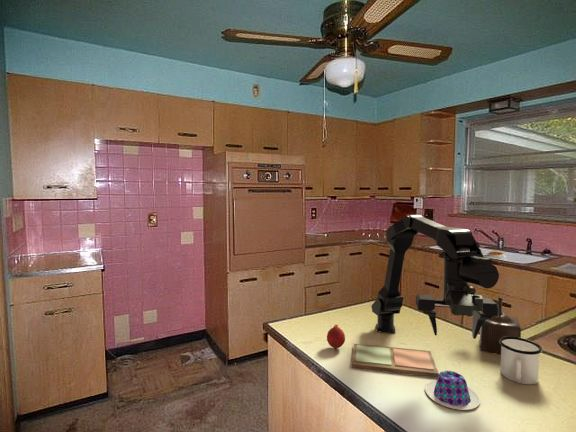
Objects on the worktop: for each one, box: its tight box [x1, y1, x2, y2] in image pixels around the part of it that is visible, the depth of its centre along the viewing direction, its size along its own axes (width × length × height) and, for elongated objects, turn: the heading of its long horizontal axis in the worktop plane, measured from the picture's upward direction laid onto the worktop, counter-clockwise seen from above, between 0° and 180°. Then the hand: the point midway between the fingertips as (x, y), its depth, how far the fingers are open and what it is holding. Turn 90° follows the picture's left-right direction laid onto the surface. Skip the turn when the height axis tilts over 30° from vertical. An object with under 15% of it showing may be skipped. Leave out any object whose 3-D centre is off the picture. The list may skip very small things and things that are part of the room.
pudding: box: [425, 370, 481, 411], centre depth 81 cm, size 12×12×5 cm
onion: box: [326, 323, 346, 350], centre depth 105 cm, size 6×6×8 cm
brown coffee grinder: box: [469, 285, 522, 356], centre depth 106 cm, size 16×11×18 cm
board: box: [351, 343, 440, 379], centre depth 97 cm, size 13×23×2 cm, turn 76°
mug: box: [499, 336, 543, 385], centre depth 87 cm, size 12×10×9 cm
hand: (454, 336), depth 86 cm, fingers open, 9 cm apart
